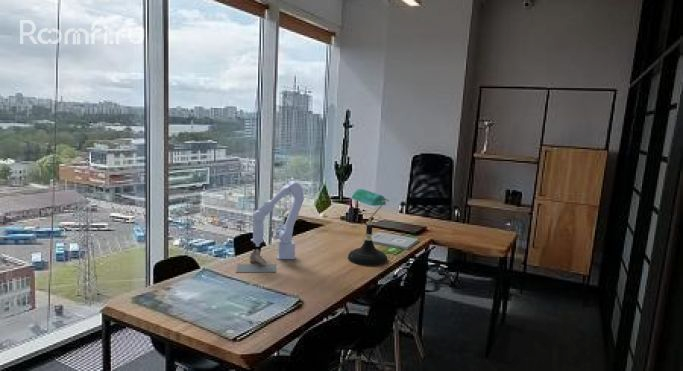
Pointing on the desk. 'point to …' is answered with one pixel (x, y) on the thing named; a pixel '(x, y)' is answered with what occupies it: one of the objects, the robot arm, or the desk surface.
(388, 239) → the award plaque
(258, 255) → the rough beige rock
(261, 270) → the charcoal mat
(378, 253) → the banker's lamp
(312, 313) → the desk surface
